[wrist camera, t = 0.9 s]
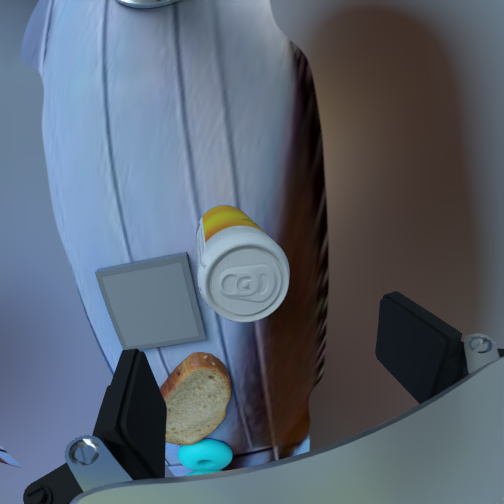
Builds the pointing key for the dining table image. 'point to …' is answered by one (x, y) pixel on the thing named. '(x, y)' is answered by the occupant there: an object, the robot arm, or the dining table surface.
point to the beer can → (239, 266)
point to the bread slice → (196, 398)
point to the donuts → (205, 456)
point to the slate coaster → (152, 302)
